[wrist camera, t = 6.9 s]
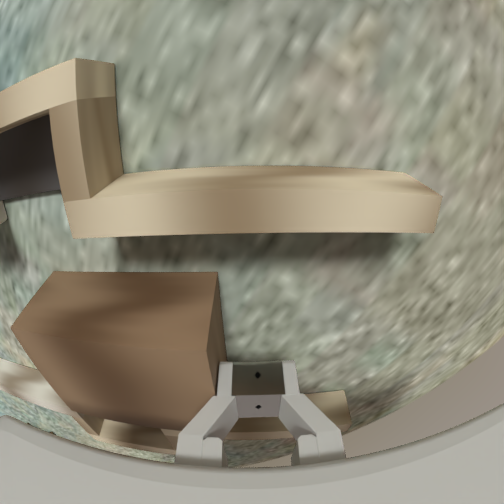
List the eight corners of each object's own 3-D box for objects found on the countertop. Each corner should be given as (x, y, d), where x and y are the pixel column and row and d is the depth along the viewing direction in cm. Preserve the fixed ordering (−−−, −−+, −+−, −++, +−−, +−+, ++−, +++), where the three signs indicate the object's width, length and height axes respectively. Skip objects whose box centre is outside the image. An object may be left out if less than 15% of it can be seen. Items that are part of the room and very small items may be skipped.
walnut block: (217, 271, 11) (206, 350, 8) (227, 366, 14) (224, 433, 11) (54, 271, 11) (10, 327, 8) (93, 355, 14) (71, 410, 11)
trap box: (412, 67, 7) (465, 65, 5) (328, 424, 18) (334, 458, 16) (-95, 173, 7) (-119, 189, 4) (4, 383, 18) (-7, 405, 16)
